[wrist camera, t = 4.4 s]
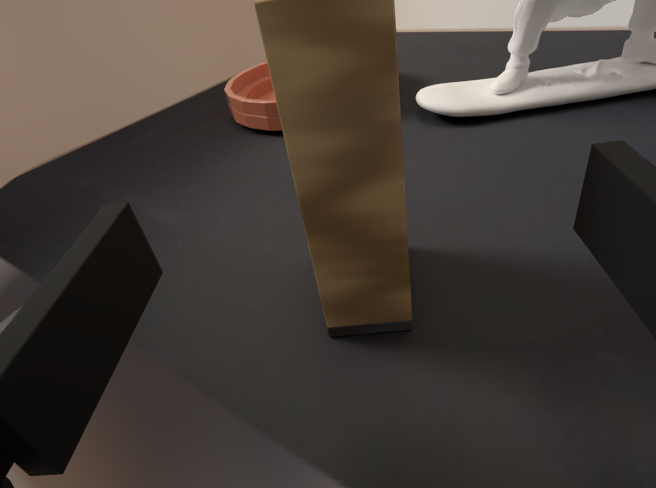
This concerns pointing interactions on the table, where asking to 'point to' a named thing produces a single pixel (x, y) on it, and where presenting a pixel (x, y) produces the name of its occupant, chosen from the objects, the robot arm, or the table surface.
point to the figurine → (557, 83)
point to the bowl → (253, 99)
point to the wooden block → (345, 152)
